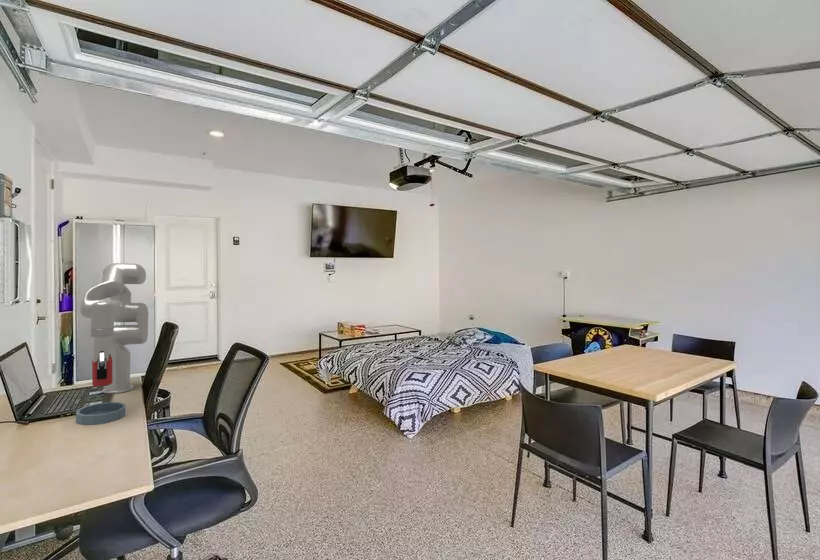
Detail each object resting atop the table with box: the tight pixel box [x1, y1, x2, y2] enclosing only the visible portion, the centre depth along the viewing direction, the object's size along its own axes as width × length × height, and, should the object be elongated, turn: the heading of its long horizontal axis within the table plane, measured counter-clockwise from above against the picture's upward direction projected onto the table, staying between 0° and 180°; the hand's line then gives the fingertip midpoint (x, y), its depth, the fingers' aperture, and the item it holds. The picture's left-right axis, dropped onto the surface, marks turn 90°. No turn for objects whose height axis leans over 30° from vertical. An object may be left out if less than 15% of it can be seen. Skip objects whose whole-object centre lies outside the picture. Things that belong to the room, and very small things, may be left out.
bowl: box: [75, 401, 127, 426], centre depth 170 cm, size 16×16×4 cm
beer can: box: [91, 354, 113, 388], centre depth 170 cm, size 7×7×12 cm
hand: (101, 376), depth 170 cm, fingers closed on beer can, 6 cm apart
